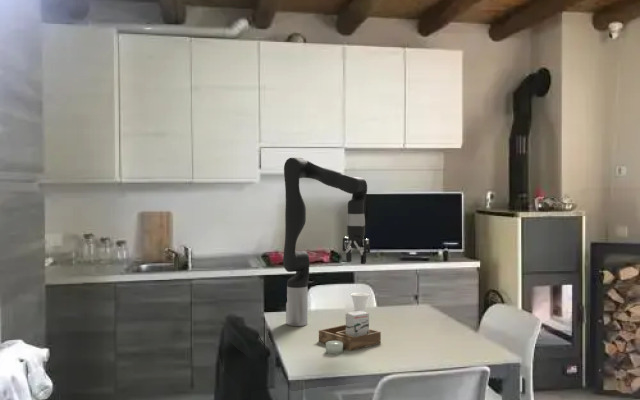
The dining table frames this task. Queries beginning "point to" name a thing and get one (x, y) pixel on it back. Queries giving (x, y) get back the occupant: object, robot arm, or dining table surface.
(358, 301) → the cup
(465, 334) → the dining table surface
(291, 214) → the robot arm
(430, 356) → the dining table surface
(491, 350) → the dining table surface
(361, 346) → the organizer
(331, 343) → the white domed round part
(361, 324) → the ink box
